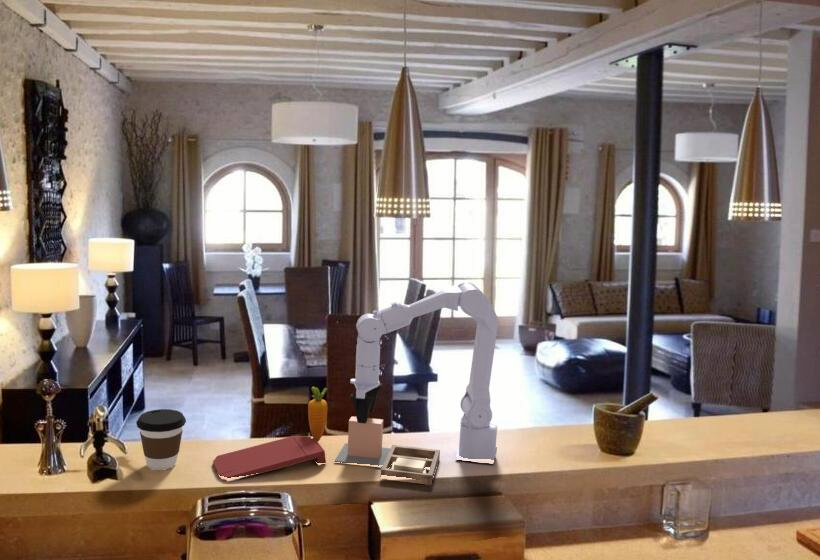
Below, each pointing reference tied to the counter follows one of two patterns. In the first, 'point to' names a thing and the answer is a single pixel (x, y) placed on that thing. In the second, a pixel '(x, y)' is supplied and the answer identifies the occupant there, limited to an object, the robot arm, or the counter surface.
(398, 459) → the offcut stack
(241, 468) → the reddish-brown flat block
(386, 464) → the tray
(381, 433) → the pink rectangular block
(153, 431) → the coffee cup
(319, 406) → the carrot
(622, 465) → the counter surface
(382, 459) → the mat
